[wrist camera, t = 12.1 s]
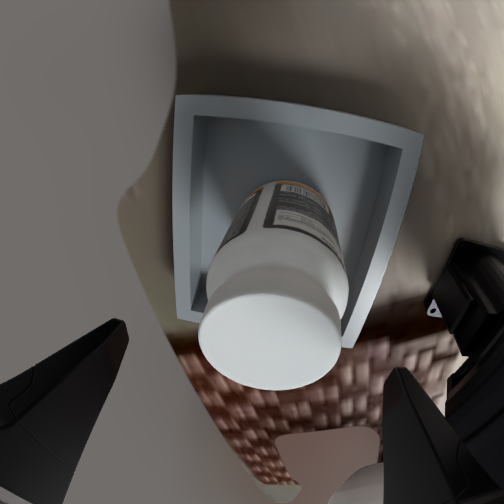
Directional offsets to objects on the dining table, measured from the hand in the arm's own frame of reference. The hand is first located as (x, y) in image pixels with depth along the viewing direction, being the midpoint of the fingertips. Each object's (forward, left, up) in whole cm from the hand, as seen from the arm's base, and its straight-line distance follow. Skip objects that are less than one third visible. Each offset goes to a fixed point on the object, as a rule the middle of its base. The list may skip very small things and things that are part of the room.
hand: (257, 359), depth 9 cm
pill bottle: (0, 0, -11) cm, 11 cm away
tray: (0, 0, -11) cm, 11 cm away
